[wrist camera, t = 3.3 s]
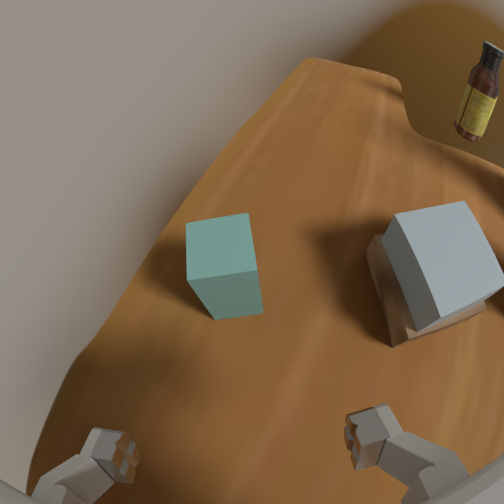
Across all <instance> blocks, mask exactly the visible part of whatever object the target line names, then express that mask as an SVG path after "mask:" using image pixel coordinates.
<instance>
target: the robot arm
mask: <svg viewBox="0 0 504 504" xmlns="http://www.w3.org/2000/svg"><path fill="white" fill-rule="evenodd" d="M345 421H346V424H347V425H346V426H345V427H344V439H345V443H346V447H347V449H348V450H350V451H351V461H352V464H353V467H354V470H355V471H357V470H361V469H364V468H368V467H371V466H375V465H377V466H378V467H379V468H381V469H382V470H384V471H385V472H387V473H388V474H390V475H391V476H392V477H394V478H395V479H397V480H399V481H400V482H402V483H403V484H405V485H406V486H408V487H409V489H408V491H407V492H406V494H405V495H404V497H403V498H402V500H401V503H402V504H504V453H502V454H501V455H500V456H499V457H497V458H496V459H495V460H493V461H492V462H490V463H489V464H488V465H486V466H485V467H483V468H482V469H480V470H479V471H477V472H476V473H474V474H473V475H471V476H470V475H469V473H468V472H467V470H466V468H465V467H464V465H463V464H462V462H461V460H460V459H459V457H458V456H457V454H456V452H453V451H451V450H448V449H446V448H444V447H441V446H439V445H437V444H434V443H432V442H430V441H427V440H425V439H423V438H421V437H418V436H416V435H414V434H412V433H410V432H408V431H407V432H403V430H402V429H401V427H400V425H399V423H398V422H397V420H396V418H395V416H394V415H393V413H392V411H391V409H390V408H389V406H388V404H386V403H383V404H380V405H377V406H374V407H369V408H366V409H363V410H360V411H356V412H353V413H349V414H347V415H346V417H345ZM139 461H140V451H139V448H138V446H137V445H136V444H135V443H134V442H132V441H131V436H130V435H129V433H128V432H123V431H115V430H109V429H102V428H96V427H95V428H93V429H92V430H91V432H90V434H89V436H88V438H87V440H86V442H85V444H84V446H83V448H82V450H81V452H80V454H76V455H74V456H73V457H71V458H70V459H68V460H67V461H65V462H64V463H62V464H60V465H59V466H57V467H56V468H54V469H52V470H51V471H49V472H48V473H46V474H44V475H43V476H41V477H40V479H39V481H38V483H37V485H36V487H35V489H34V491H33V494H32V496H31V497H30V496H28V495H26V494H24V493H22V492H21V491H19V490H17V489H15V488H14V487H12V486H10V485H8V484H7V483H5V482H3V481H2V480H0V504H93V503H94V502H95V501H96V500H97V499H98V498H99V497H100V496H101V495H102V494H104V493H105V492H106V491H107V490H108V489H109V488H110V487H111V486H112V485H113V484H114V483H115V482H121V483H127V484H133V482H134V478H135V475H136V471H135V469H134V467H136V466H137V465H138V464H139ZM114 481H115V482H114Z"/></svg>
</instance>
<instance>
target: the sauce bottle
mask: <svg viewBox="0 0 504 504" xmlns="http://www.w3.org/2000/svg"><path fill="white" fill-rule="evenodd" d="M503 58H504V52H503V51H502V50H500V49H499V48H497V47H496V46H494V45H492V44H491V43H489V42H486V41H484V43H483V52H482V56H481V59H480V62H479V63H478V64H477V65H476V66H475V67H473V68H472V70H471V73H470V77H469V80H468V82H467V85H466V89H465V92H464V95H463V98H462V101H461V104H460V107H459V110H458V113H457V116H456V119H455V120H456V121H455V123H454V126H455V128H456V130H457V132H458V133H459V134H460V135H462V136H463V137H464V138H466V139H467V140H469V141H472V142H478V141H479V140H480V138H481V136H482V135H483V133H484V130H485V128H486V126H487V124H488V121H489V119H490V116H491V114H492V111H493V108H494V106H495V103H496V100H497V97H498V94H499V68H500V65H501V61H502V59H503Z"/></svg>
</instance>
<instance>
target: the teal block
mask: <svg viewBox="0 0 504 504" xmlns="http://www.w3.org/2000/svg"><path fill="white" fill-rule="evenodd" d="M186 263H187V281H188V283H189V284H190V286H191V287H192V288H193V290H194V291H195V293H196V294H197V296H198V297H199V298H200V300H201V301H202V303H203V304H204V306H205V307H206V308H207V310H208V311H209V312H210V314H211V315H212V317H213V318H214V319H215V320H219V319H227V318H234V317H241V316H248V315H254V314H261V313H264V312H263V305H262V298H261V291H260V284H259V278H258V271H257V264H256V258H255V252H254V246H253V239H252V233H251V227H250V221H249V215H248V213H244V214H238V215H231V216H225V217H219V218H213V219H207V220H202V221H196V222H190V223H186Z"/></svg>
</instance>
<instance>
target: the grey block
mask: <svg viewBox="0 0 504 504" xmlns="http://www.w3.org/2000/svg"><path fill="white" fill-rule="evenodd" d="M381 242H382V244H383V246H384V248H385V251H386V253H387V255H388V257H389V260H390V262H391V264H392V267H393V269H394V271H395V274H396V276H397V279H398V281H399V284H400V286H401V289H402V291H403V294H404V296H405V299H406V302H407V304H408V307H409V310H410V313H411V315H412V318H413V321H414V324H415V327H416V330H417V332H419V331H421V330H424V329H426V328H429V327H431V326H433V325H435V324H438V323H440V322H442V321H444V320H446V319H449V318H451V317H453V316H455V315H457V314H459V313H461V312H463V311H465V310H467V309H469V308H471V307H473V306H475V305H477V304H479V303H481V302H483V301H484V300H486V299H487V298H489V297H490V296H491V295H493V294H494V293H496V292H497V291H498V290H500V289H501V288H502V287H504V274H503V272H502V269H501V267H500V265H499V263H498V261H497V259H496V256H495V254H494V252H493V250H492V248H491V246H490V244H489V242H488V241H487V239H486V237H485V235H484V233H483V231H482V229H481V228H480V226H479V224H478V222H477V221H476V219H475V217H474V215H473V214H472V212H471V210H470V209H469V207H468V205H467V204H466V202H465V201H461V202H455V203H450V204H445V205H440V206H435V207H430V208H424V209H419V210H414V211H409V212H404V213H399V214H395V215H394V217H393V218H392V220H391V222H390V224H389V226H388V228H387V230H386V232H385V234H384V236H383V237H382V239H381Z"/></svg>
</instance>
